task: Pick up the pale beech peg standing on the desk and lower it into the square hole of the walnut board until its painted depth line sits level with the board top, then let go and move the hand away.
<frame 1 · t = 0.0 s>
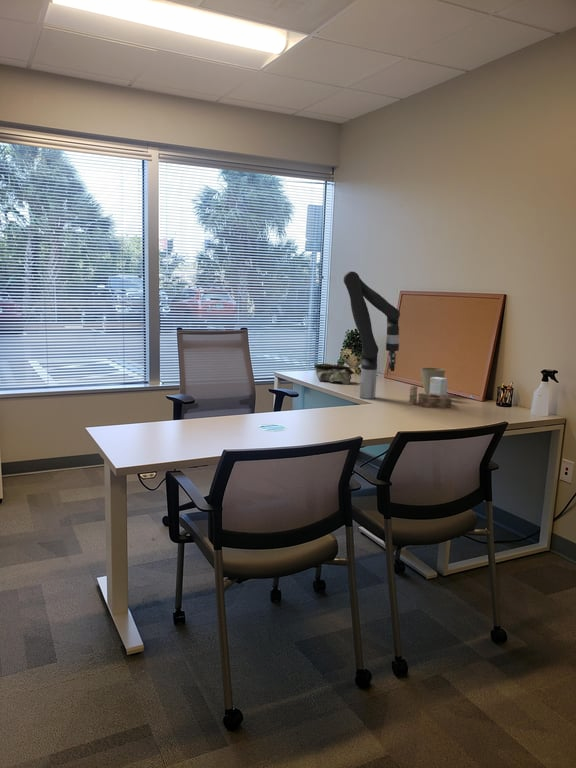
hand: (391, 369, 339), 17 cm above the table, tool pointing down, fingers open, 8 cm apart
small box: (437, 399, 345), on the table
beech peg: (412, 403, 328), on the table
walnut board: (434, 405, 327), on the table
mossy rock: (332, 382, 395), on the table
plant pot: (431, 394, 361), on the table
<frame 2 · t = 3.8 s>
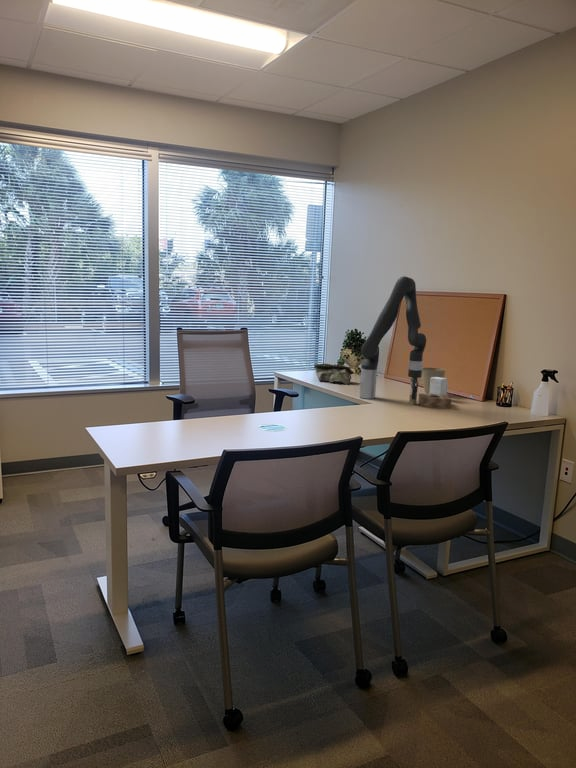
hand: (413, 398, 328), 3 cm above the table, tool pointing down, fingers closed on beech peg, 4 cm apart
beech peg: (412, 403, 328), on the table, touching gripper
everything else where it was.
when the fingers open (6 cm above the table, at t = 9.1 s): beech peg drops 2 cm, resting in walnut board.
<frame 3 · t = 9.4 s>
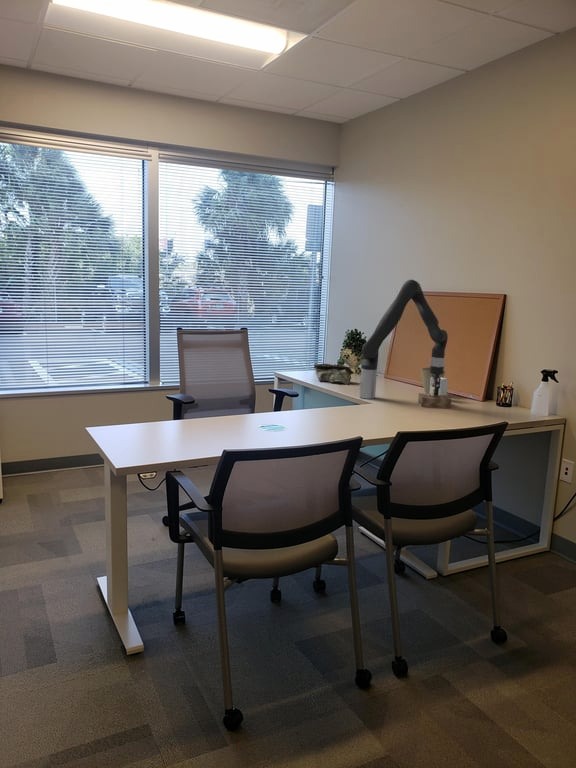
hand: (434, 394, 326), 6 cm above the table, tool pointing down, fingers open, 6 cm apart
beech peg: (434, 404, 328), resting in walnut board
everything else where it was.
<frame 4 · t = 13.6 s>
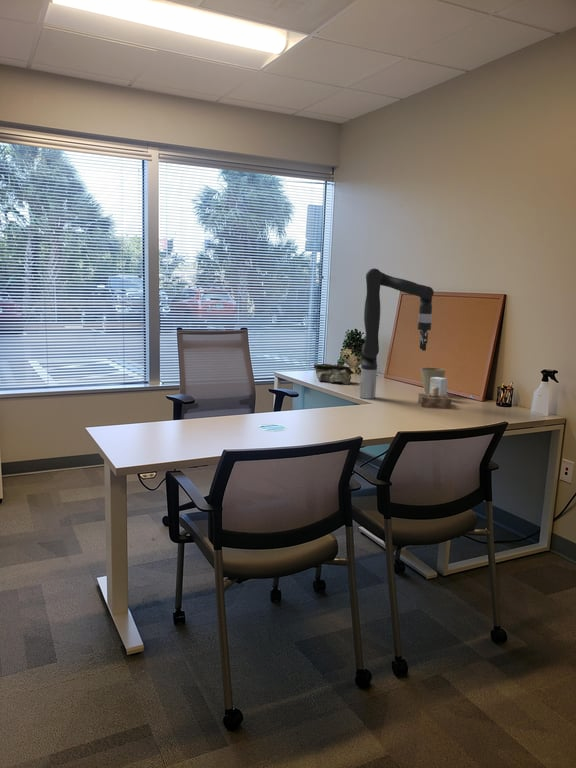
hand: (422, 349, 334), 30 cm above the table, tool pointing down, fingers open, 8 cm apart
nothing on the table moved.
at the end: beech peg 0.2 cm off-centre on the walnut board, point 0.0 cm above the walnut board's base; beech peg tilted 0°; the gripper is holding nothing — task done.
